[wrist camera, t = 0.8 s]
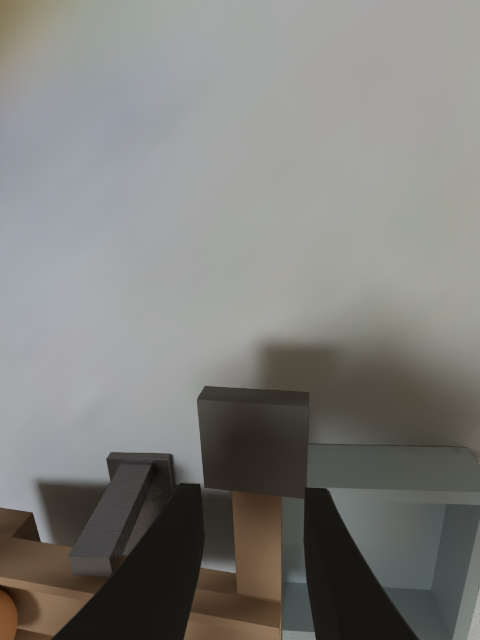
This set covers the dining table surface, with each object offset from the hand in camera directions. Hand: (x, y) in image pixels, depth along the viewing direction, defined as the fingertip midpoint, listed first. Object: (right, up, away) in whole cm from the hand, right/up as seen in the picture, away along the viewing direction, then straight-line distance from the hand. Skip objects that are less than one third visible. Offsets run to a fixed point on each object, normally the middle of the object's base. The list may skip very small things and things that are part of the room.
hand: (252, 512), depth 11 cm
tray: (+7, -8, +13) cm, 17 cm away
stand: (-7, -8, +14) cm, 17 cm away
